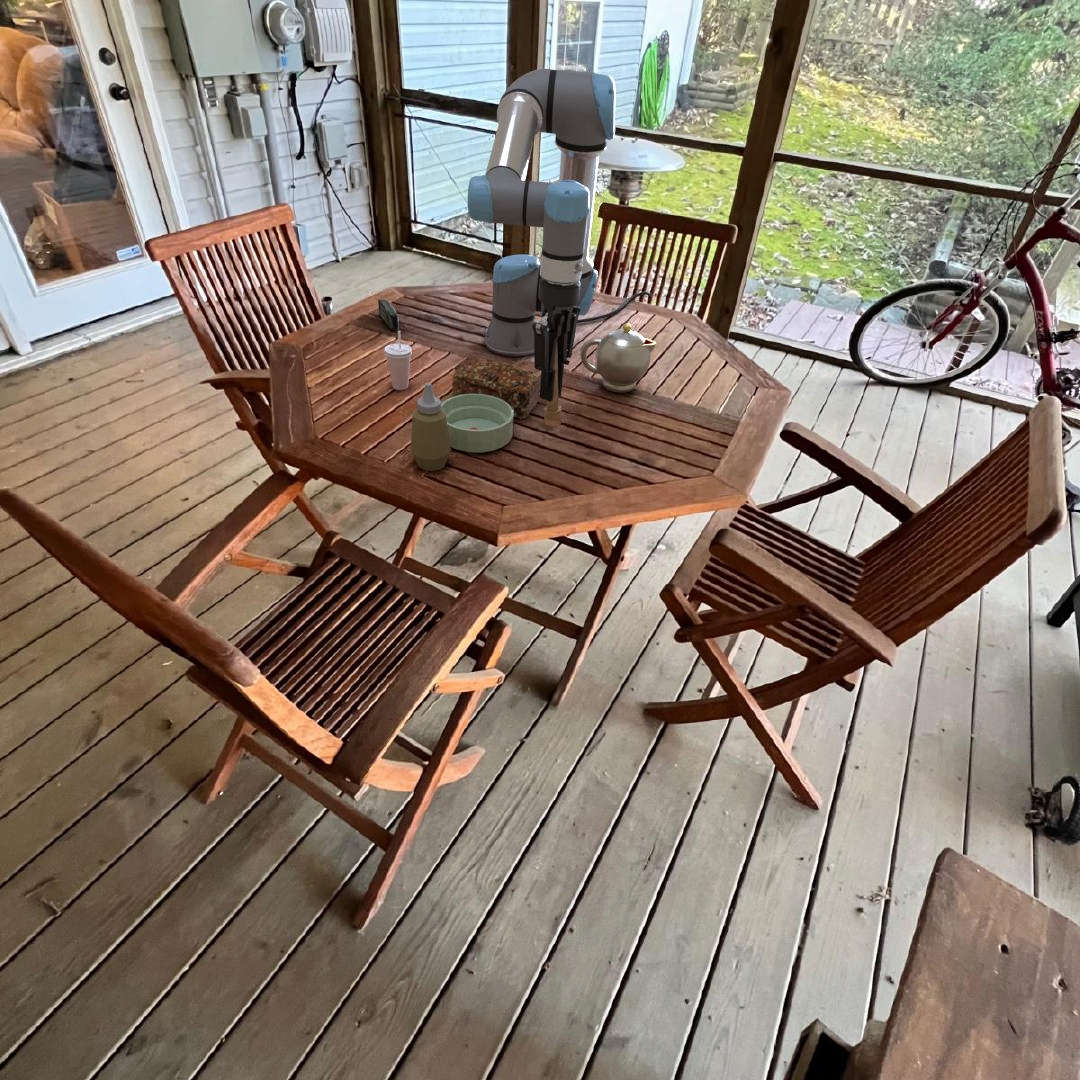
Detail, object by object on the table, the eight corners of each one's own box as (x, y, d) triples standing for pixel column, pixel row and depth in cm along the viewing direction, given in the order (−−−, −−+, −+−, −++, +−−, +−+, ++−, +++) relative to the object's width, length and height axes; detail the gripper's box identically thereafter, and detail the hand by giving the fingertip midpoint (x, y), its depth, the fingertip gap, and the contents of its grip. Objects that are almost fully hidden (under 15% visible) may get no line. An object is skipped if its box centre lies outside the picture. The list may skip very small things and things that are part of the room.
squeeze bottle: (412, 452, 144) (408, 374, 133) (451, 453, 145) (450, 375, 134) (410, 474, 138) (405, 393, 127) (450, 474, 139) (449, 394, 128)
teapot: (648, 378, 179) (660, 317, 169) (645, 402, 169) (657, 339, 158) (581, 369, 181) (587, 307, 171) (573, 392, 171) (580, 328, 160)
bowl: (469, 410, 160) (470, 386, 156) (526, 433, 154) (528, 409, 150) (423, 437, 149) (421, 413, 146) (481, 464, 143) (482, 439, 139)
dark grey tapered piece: (375, 298, 196) (391, 316, 186) (386, 297, 198) (402, 315, 187) (377, 315, 200) (393, 334, 189) (387, 314, 201) (403, 333, 190)
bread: (451, 405, 161) (450, 366, 155) (469, 386, 169) (469, 348, 163) (525, 423, 157) (528, 383, 151) (540, 402, 165) (543, 364, 159)
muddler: (555, 416, 144) (553, 321, 132) (565, 422, 142) (564, 326, 130) (541, 421, 142) (537, 325, 131) (550, 427, 140) (548, 330, 128)
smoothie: (408, 394, 164) (405, 338, 155) (382, 390, 165) (378, 334, 156) (417, 382, 169) (414, 327, 160) (392, 378, 169) (388, 323, 161)
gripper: (554, 295, 117) (544, 416, 132) (599, 274, 128) (585, 388, 143) (518, 284, 121) (513, 404, 135) (566, 264, 131) (555, 377, 146)
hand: (550, 396), depth 139 cm, fingers closed on muddler, 2 cm apart
